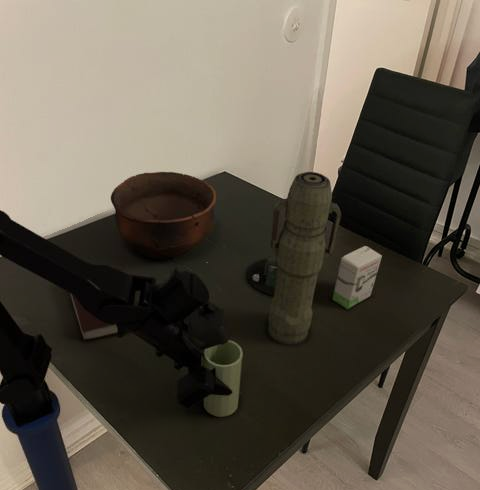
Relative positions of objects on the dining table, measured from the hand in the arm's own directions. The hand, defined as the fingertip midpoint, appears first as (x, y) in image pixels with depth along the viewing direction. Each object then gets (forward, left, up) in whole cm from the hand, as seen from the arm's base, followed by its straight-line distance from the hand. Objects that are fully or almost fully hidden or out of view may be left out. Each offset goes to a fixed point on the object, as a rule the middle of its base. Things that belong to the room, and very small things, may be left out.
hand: (229, 378), depth 88 cm
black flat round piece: (+32, +26, -7) cm, 41 cm away
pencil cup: (-1, +1, -7) cm, 7 cm away
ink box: (+42, +11, -7) cm, 44 cm away
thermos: (+22, +10, -7) cm, 25 cm away
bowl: (+15, +51, -7) cm, 53 cm away
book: (-8, +37, -7) cm, 38 cm away
